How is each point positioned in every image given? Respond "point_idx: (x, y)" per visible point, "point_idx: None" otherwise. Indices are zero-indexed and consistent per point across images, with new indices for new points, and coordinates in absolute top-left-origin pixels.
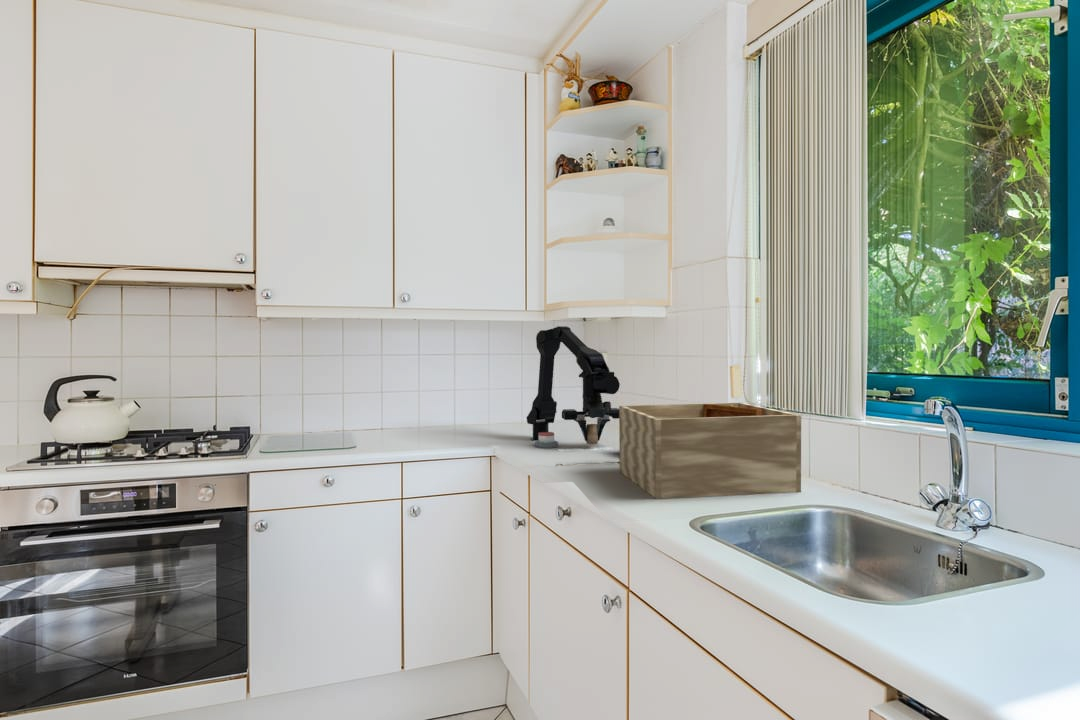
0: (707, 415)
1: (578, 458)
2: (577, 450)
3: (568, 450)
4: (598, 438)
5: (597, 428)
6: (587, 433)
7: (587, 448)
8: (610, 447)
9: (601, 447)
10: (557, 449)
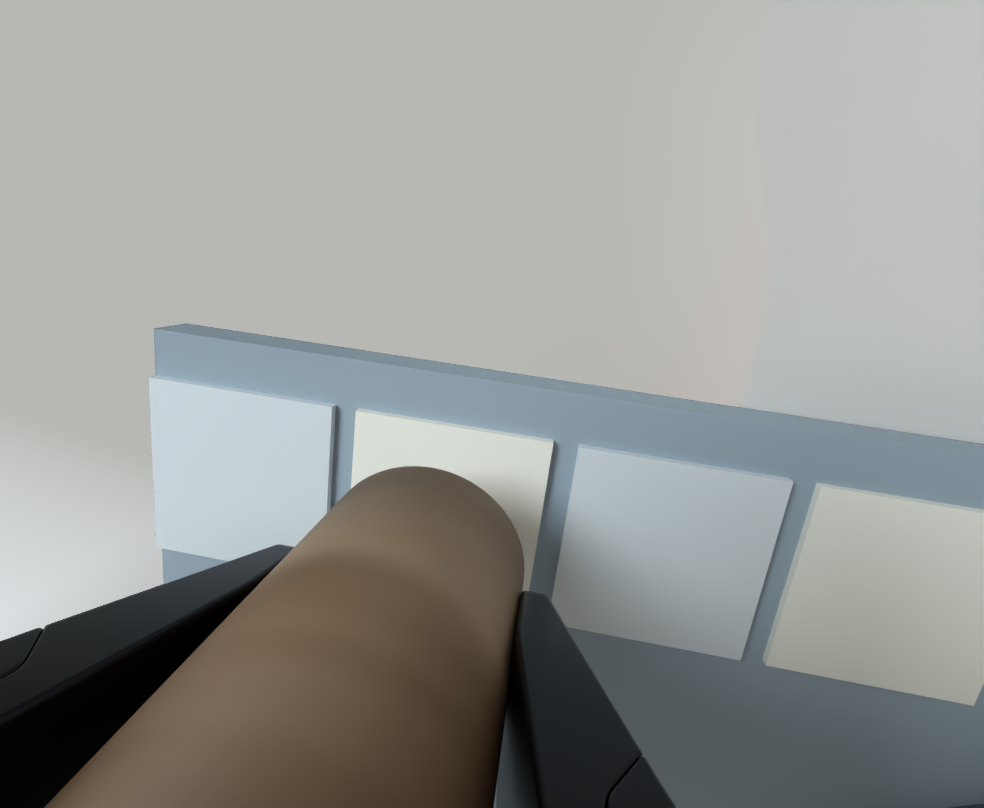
0: None
1: (845, 141)
2: (716, 487)
3: (858, 542)
4: (270, 562)
5: (119, 732)
6: (497, 696)
7: None
8: (160, 522)
9: None
10: (980, 686)
